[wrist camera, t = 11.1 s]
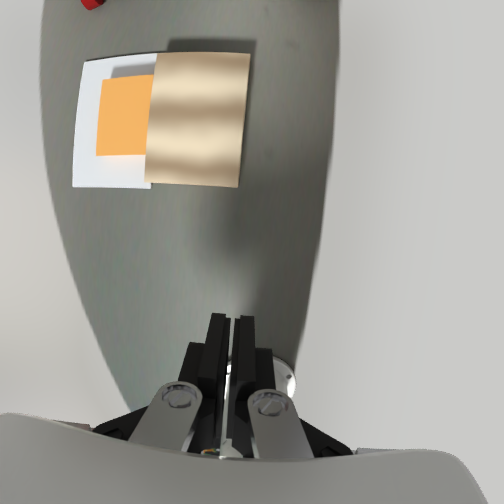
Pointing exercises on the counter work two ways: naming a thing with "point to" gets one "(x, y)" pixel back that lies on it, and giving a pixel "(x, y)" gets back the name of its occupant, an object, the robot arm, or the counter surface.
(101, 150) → the slab
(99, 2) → the mechanical linkage
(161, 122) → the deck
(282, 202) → the counter surface
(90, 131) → the mat
